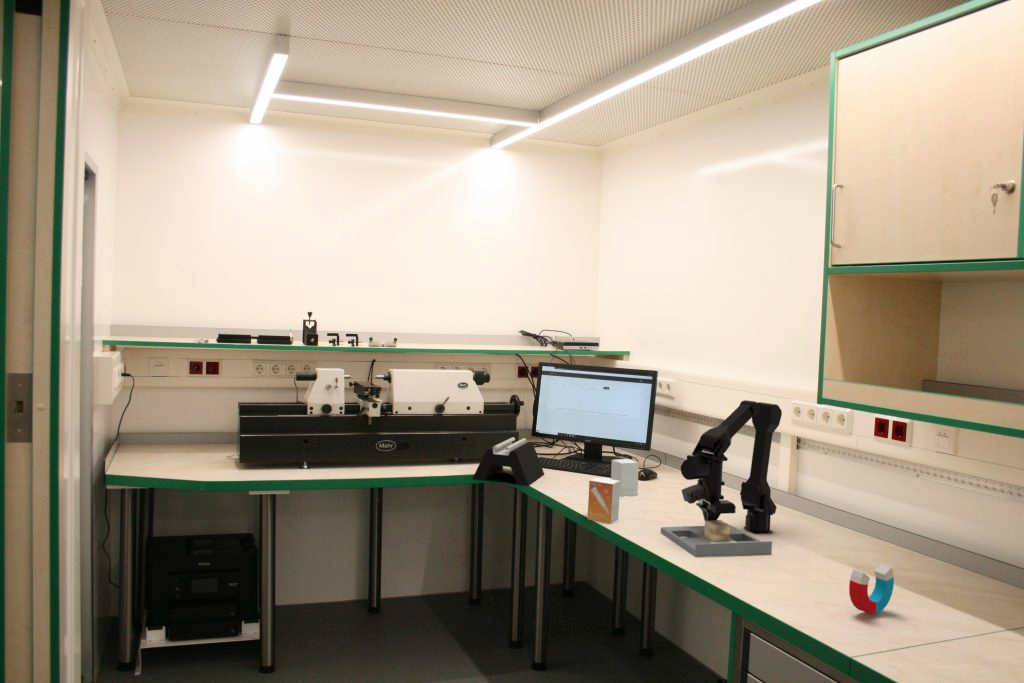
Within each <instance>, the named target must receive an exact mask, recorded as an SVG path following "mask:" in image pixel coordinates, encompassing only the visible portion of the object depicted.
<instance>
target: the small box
mask: <svg viewBox="0 0 1024 683" xmlns="http://www.w3.org/2000/svg"><path fill="white" fill-rule="evenodd" d="M588 483H589V484H588V501H587V505H588V506H587V520H588V521H595V522H599V523H605V524H610V525H611V524H613V523H615V522H617V521H618V520H619V516H620V514H619V512H620V481H619V480H612V479H611V478H604V477H594V478H591V479H590V480H589V482H588Z"/></svg>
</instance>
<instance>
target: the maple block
mask: <svg viewBox="0 0 1024 683" xmlns="http://www.w3.org/2000/svg"><path fill="white" fill-rule="evenodd" d="M730 525H731V524H728V523H727V522H725V521H723V520H722V519H717V520H706V521H705V520H704V526H705V533H704V536H705V537H707V538H708V539H710V540H712V541H729V529H730Z"/></svg>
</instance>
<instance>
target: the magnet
mask: <svg viewBox="0 0 1024 683" xmlns="http://www.w3.org/2000/svg"><path fill="white" fill-rule="evenodd" d="M874 576H875V584H874V585H875V586H874V588H873V590H872V592H871V594H870V595H869V594H868V592H869V591H868V586H869V584H870V583H869V582H870V579H871V577H870V576H869V575H867V574H866V573H865V572H864V571H861V570H857V569H852V572H851V575H850V578H849V585H848V586H849V587H848V591H849V593H848V594H849V598H850V601H851V603H852V605H853V607H854V608H856V609H857V610H858V611H861V612H864V613H865V614H868V615H877V614H879V613H881V612H882V611H884V609H885V608H886V607H887V606H888V604H889V603H890V600H891V598H892V596H893V592H894V591H893V590H894V586H895V585H894V584H895V583H894V582H895V581H894V580H895V579H894V571H893V568H892V567H891V566H889V565H886V564H883V563H880V564H879V566H877V568H876V569H875V570H874Z"/></svg>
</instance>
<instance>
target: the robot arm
mask: <svg viewBox="0 0 1024 683" xmlns="http://www.w3.org/2000/svg"><path fill="white" fill-rule="evenodd" d="M782 414H783V413H782V409H781V408H780V406H779V405H778V404H775V403H768V402H761V401H756V400H755V401H754V400H746V399H745V400H741V401H740V403H739V405H738V406H737V408H736V409H734V411H733V412H731V413H730V415H729V416H727V418H726V419H724V420H723V421H722V422H721V423H720V424H719V425H718V426H716V427H712V428H710V429H708V430H707V431H705V432H704V433H702V434H701V435H700V438H699V440H698V442H697V444H696V446H695V447H694V450H693V451H692V453H691V454H687V455H686V459H684V461H682V463H681V465H680V472H681V475H682V477H683V478H684V479H685V480H688V481H693V480H697V482H696V483H697V484H692V485H691V486H687V487H685V488H682V489H681V494H682V498H683V502H686V503H688V504H690V505H692V504H694V503H695V506H697V507H698V508H699V509H700V510H701V513H702V515H703V520H704V522H705V521H706V520H719V517H721V514H736V508H737V506H736V505H735V504H734V502H731V501H730V500H728V499H725V496H724V495H723V494H722V486H725V481H724V480H723V466H724V465H723V464H724V462H727V461H728V460H729V458H728V457H727V456H726V455H725V453H726V452H727V451H728V450H729V448H730V447H731V444H732V439H733V437H734V436H735V435H736V434H737V433H738V432H739V431H740V430H741V429H743V427H744V426H745V425H746V424H747V423H748V422H749V421H750V420H751V423H752V425H753V427H754V430H755V433H754V440H753V449H752V450H753V451H752V456H751V457H752V458H751V464H750V471H749V477H748V478H747V480H746V481H742V482H741V487H740V488H741V489H740V493H739V496H740V501H741V505H742V510H747V511H746V514H745V522H744V523H745V524H744V526H743V529H744V530H746V531H748V532H750V533H752V534H754V535H763V534H764V535H766V534H773V533H774V532H773V531H772V530H771V516H774V515H775V514H776V512H777V511H776V510H777V505H776V503H775V502H774V501H773V499H772V498H771V491H772V489H771V487H770V485H769V483H768V479H767V478H768V471H769V464H770V457H771V456H770V455H771V449H772V440H773V433H774V432H775V431H776V430H777V429H778V427H779V426H780V423H781V418H782V416H783V415H782Z"/></svg>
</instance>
